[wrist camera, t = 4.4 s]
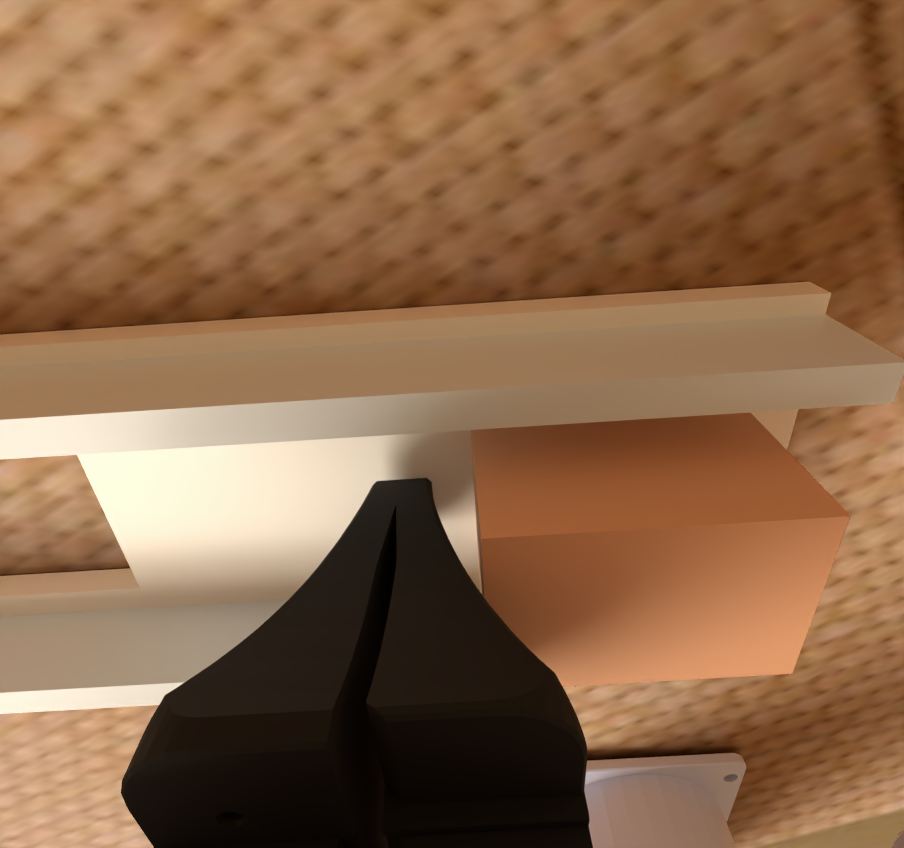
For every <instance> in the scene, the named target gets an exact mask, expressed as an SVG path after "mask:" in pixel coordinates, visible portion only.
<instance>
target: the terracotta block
mask: <svg viewBox="0 0 904 848" xmlns="http://www.w3.org/2000/svg"><path fill="white" fill-rule="evenodd" d="M471 440H472V457H473V475H474V493H475V511H476V529H477V547H478V560H479V573H480V585H481V594H482V595H483V597H484V598H485V599H486V601H487V602H488V603H489V605H490V606H491V607H492V608H493V609H494V611H495V612H496V613H497V614H498V615H499V617H500V618H501V619H502V620H503V621H504V623H505V624H506V625H507V626H508V627H509V629H510V630H511V631H512V632H513V633H514V634H515V635H516V636H517V637H518V638H519V639H520V640H521V641H522V642H523V643H524V644H525V645H526V647H527V648H529V649H530V650H531V651H532V652H533V653H534V654H535V655H536V656H537V657H538V658H539V659H540V660H541V661H542V662H543V663H544V664H546V665H547V666H548V667H549V668H550V669H551V670H552V671H553V672H555V674H556V676H557V677H558V679H559V681H560V683H561V685H562V687H565V686H583V685H601V684H618V683H636V682H654V681H671V680H689V679H707V678H725V677H742V676H760V675H778V674H792V673H793V670H794V667H795V665H796V662H797V659H798V657H799V654H800V651H801V648H802V646H803V643H804V640H805V638H806V635H807V632H808V630H809V627H810V624H811V622H812V619H813V616H814V613H815V611H816V608H817V605H818V603H819V600H820V597H821V595H822V592H823V589H824V587H825V584H826V581H827V579H828V576H829V573H830V570H831V568H832V565H833V562H834V560H835V557H836V554H837V552H838V549H839V546H840V544H841V541H842V538H843V536H844V533H845V530H846V527H847V525H848V522H849V519H850V517H851V516H850V515H849V514H848V513H847V512H846V511H845V510H844V509H843V508H842V507H841V506H840V505H839V504H838V503H837V502H836V500H835V499H834V498H833V497H832V496H831V495H830V494H829V493H828V492H827V491H826V490H825V489H824V488H823V487H822V486H821V485H820V484H819V483H818V482H817V481H816V480H815V479H814V478H813V477H812V476H811V475H810V474H809V473H808V471H807V470H806V469H805V468H804V467H803V466H802V465H801V464H800V463H799V462H798V461H797V460H796V459H795V458H794V457H793V456H792V455H791V454H790V453H789V452H788V451H787V450H786V449H785V448H784V447H783V446H782V445H781V444H780V443H779V441H778V440H777V439H776V438H775V437H774V436H773V435H772V434H771V433H770V432H769V431H768V430H767V429H766V428H765V427H764V426H763V425H762V424H761V423H760V422H759V421H758V420H757V419H756V418H755V417H754V416H753V415H752V414H751V412H750V413H734V414H718V415H702V416H686V417H670V418H654V419H638V420H622V421H606V422H590V423H574V424H558V425H542V426H526V427H510V428H494V429H478V430H471Z"/></svg>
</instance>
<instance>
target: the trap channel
mask: <svg viewBox="0 0 904 848" xmlns="http://www.w3.org/2000/svg"><path fill="white" fill-rule="evenodd" d="M830 297H831V292H829V291H827V290H825V289H823V288H821V287H819V286H817V285H815V284H813V283H811V282H795V283H779V284H764V285H749V286H734V287H718V288H703V289H688V290H673V291H657V292H642V293H627V294H612V295H596V296H581V297H566V298H551V299H536V300H520V301H505V302H490V303H475V304H459V305H444V306H429V307H414V308H398V309H383V310H368V311H353V312H337V313H322V314H307V315H292V316H276V317H261V318H246V319H231V320H216V321H200V322H185V323H170V324H155V325H139V326H124V327H109V328H94V329H78V330H63V331H48V332H33V333H17V334H2V335H0V459H16V458H32V457H48V456H63V455H77V456H78V458H79V460H80V462H81V464H82V467H83V469H84V471H85V473H86V475H87V477H88V479H89V481H90V484H91V486H92V488H93V490H94V492H95V494H96V496H97V498H98V500H99V503H100V505H101V507H102V509H103V511H104V513H105V515H106V517H107V519H108V522H109V524H110V526H111V528H112V530H113V532H114V534H115V536H116V538H117V541H118V543H119V545H120V547H121V549H122V551H123V553H124V555H125V558H126V560H127V562H128V564H129V566H130V568H127V569H110V570H93V571H76V572H60V573H43V574H26V575H10V576H0V714H7V713H25V712H43V711H60V710H78V709H96V708H113V707H131V706H149V705H160V703H161V701H162V699H163V697H164V696H165V695H166V694H167V693H169V692H171V691H172V690H174V689H175V688H177V687H178V686H180V685H181V684H183V683H184V682H186V681H187V680H189V679H190V678H192V677H193V676H195V675H196V674H198V673H199V672H201V671H202V670H204V669H205V668H207V667H208V666H210V665H211V664H213V663H214V662H215V661H217V660H218V659H219V658H221V657H222V656H224V655H225V654H226V653H227V652H229V651H230V650H231V649H233V648H234V647H235V646H237V645H238V644H239V643H240V642H242V641H243V640H244V639H245V638H247V637H248V636H249V635H250V634H252V633H253V632H254V631H255V630H256V629H258V628H259V627H260V626H261V625H262V624H263V623H264V622H265V621H266V620H268V619H269V618H270V617H271V616H272V615H273V614H274V613H275V612H276V611H277V610H278V609H279V608H280V607H281V606H282V605H283V604H284V603H285V602H286V601H287V600H289V598H290V597H291V596H292V595H293V594H294V593H295V592H296V591H297V590H298V589H299V588H300V587H301V586H302V585H303V584H304V582H305V581H306V580H307V579H308V578H309V577H310V576H311V574H312V573H313V572H314V571H315V570H316V569H317V567H318V566H319V565H320V564H321V562H322V561H323V560H324V558H325V557H326V556H327V555H328V553H329V552H330V551H331V549H332V548H333V547H334V545H335V544H336V543H337V541H338V540H339V539H340V537H341V536H342V534H343V533H344V531H345V530H346V528H347V527H348V525H349V524H350V522H351V521H352V519H353V518H354V516H355V515H356V513H357V512H358V510H359V508H360V507H361V505H362V503H363V502H364V500H365V498H366V496H367V495H368V493H369V491H370V489H371V487H372V485H373V484H374V483H375V482H376V481H385V480H401V479H416V478H427V479H429V480H430V481H431V482H432V490H433V499H434V503H435V506H436V509H437V512H438V515H439V518H440V520H441V523H442V525H443V527H444V530H445V532H446V534H447V536H448V539H449V541H450V543H451V545H452V547H453V549H454V550H455V552H456V554H457V556H458V558H459V560H460V561H461V563H462V565H463V567H464V568H465V570H466V572H467V573H468V575H469V576H470V578H471V579H472V581H473V582H474V584H475V585H476V587H477V588H478V590H479V591H480V592H481V585H480V573H479V560H478V547H477V529H476V511H475V493H474V475H473V457H472V440H471V430H478V429H494V428H510V427H526V426H542V425H558V424H574V423H590V422H606V421H622V420H638V419H654V418H670V417H686V416H702V415H718V414H734V413H750V412H751V414H752V415H753V416H754V417H755V418H756V419H757V420H758V421H759V422H760V423H761V424H762V425H763V426H764V427H765V428H766V429H767V430H768V431H769V432H770V433H771V434H772V435H773V436H774V437H775V438H776V439H777V440H778V441H779V443H780V444H781V445H782V446H783V447H784V448H785V449H786V450H787V449H788V445H789V442H790V438H791V434H792V431H793V427H794V424H795V420H796V417H797V413H798V410H799V409H814V408H830V407H846V406H862V405H878V404H893V402H894V400H895V397H896V394H897V392H898V389H899V386H900V384H901V381H902V378H903V376H904V359H902V358H901V357H899V356H897V355H895V354H894V353H892V352H890V351H888V350H887V349H885V348H883V347H882V346H880V345H878V344H876V343H875V342H873V341H871V340H869V339H868V338H866V337H864V336H862V335H861V334H859V333H857V332H855V331H854V330H852V329H850V328H848V327H847V326H845V325H843V324H842V323H840V322H838V321H836V320H835V319H833V318H831V317H829V316H828V315H826V311H827V307H828V304H829V300H830Z"/></svg>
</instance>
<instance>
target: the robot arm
mask: <svg viewBox="0 0 904 848" xmlns="http://www.w3.org/2000/svg"><path fill="white" fill-rule="evenodd" d="M587 757H588V756H587V746H586V741H585V737H584V734H583V731H582V729H581V726H580V723H579V720H578V718H577V716H576V713H575V711H574V709H573V707H572V704H571V702H570V700H569V698H568V696H567V694H566V692H565V691H564V689H563V687H562V685H561V683H560V681H559V679H558V677H557V676H556V674H555V672H553V671H552V670H551V669H550V668H549V667H548V666H547V665H546V664H544V663H543V662H542V661H541V660H540V659H539V658H538V657H537V656H536V655H535V654H534V653H533V652H532V651H531V650H530V649H529V648H527V647H526V645H525V644H524V643H523V642H522V641H521V640H520V639H519V638H518V637H517V636H516V635H515V634H514V633H513V632H512V631H511V630H510V629H509V627H508V626H507V625H506V624H505V623H504V621H503V620H502V619H501V618H500V617H499V615H498V614H497V613H496V612H495V611H494V609H493V608H492V607H491V606H490V605H489V603H488V602H487V601H486V599H485V598H484V597H483V595H482V594H481V592H480V591H479V590H478V588H477V587H476V585H475V584H474V582H473V581H472V579H471V578H470V576H469V575H468V573H467V572H466V570H465V568H464V567H463V565H462V563H461V561H460V560H459V558H458V556H457V554H456V552H455V550H454V549H453V547H452V545H451V543H450V541H449V539H448V536H447V534H446V532H445V530H444V527H443V525H442V523H441V520H440V518H439V515H438V512H437V509H436V506H435V503H434V499H433V490H432V482H431V481H430V480H429V479H427V478H416V479H401V480H385V481H376V482H375V483H374V484H373V485H372V487H371V489H370V491H369V493H368V495H367V496H366V498H365V500H364V502H363V503H362V505H361V507H360V508H359V510H358V512H357V513H356V515H355V516H354V518H353V519H352V521H351V522H350V524H349V525H348V527H347V528H346V530H345V531H344V533H343V534H342V536H341V537H340V539H339V540H338V541H337V543H336V544H335V545H334V547H333V548H332V549H331V551H330V552H329V553H328V555H327V556H326V557H325V558H324V560H323V561H322V562H321V564H320V565H319V566H318V567H317V569H316V570H315V571H314V572H313V573H312V574H311V576H310V577H309V578H308V579H307V580H306V581H305V582H304V584H303V585H302V586H301V587H300V588H299V589H298V590H297V591H296V592H295V593H294V594H293V595H292V596H291V597H290V598H289V600H287V601H286V602H285V603H284V604H283V605H282V606H281V607H280V608H279V609H278V610H277V611H276V612H275V613H274V614H273V615H272V616H271V617H270V618H269V619H268V620H266V621H265V622H264V623H263V624H262V625H261V626H260V627H259V628H258V629H256V630H255V631H254V632H253V633H252V634H250V635H249V636H248V637H247V638H245V639H244V640H243V641H242V642H240V643H239V644H238V645H237V646H235V647H234V648H233V649H231V650H230V651H229V652H227V653H226V654H225V655H224V656H222V657H221V658H219V659H218V660H217V661H215V662H214V663H213V664H211V665H210V666H208V667H207V668H205V669H204V670H202V671H201V672H199V673H198V674H196V675H195V676H193V677H192V678H190V679H189V680H187V681H186V682H184V683H183V684H181V685H180V686H178V687H177V688H175V689H174V690H172V691H171V692H169V693H167V694H166V695H165V696H164V697H163V699H162V701H161V703H160V705H159V706H158V708H157V710H156V712H155V713H154V715H153V717H152V718H151V720H150V722H149V724H148V726H147V728H146V730H145V732H144V734H143V736H142V738H141V740H140V743H139V745H138V747H137V749H136V751H135V754H134V756H133V758H132V760H131V762H130V764H129V767H128V769H127V771H126V773H125V775H124V778H123V780H122V788H121V794H122V796H123V799H124V801H125V803H126V806H127V808H128V810H129V811H130V813H131V814H132V816H133V817H134V819H135V820H136V821H137V823H138V824H139V826H140V827H141V829H142V830H143V832H144V833H145V835H146V836H147V838H148V839H149V841H150V842H151V844H152V845H153V846H154V848H736V846H735V843H734V841H733V838H732V836H731V833H730V830H729V828H728V825H727V821H728V818H729V815H730V812H731V810H732V807H733V804H734V801H735V799H736V796H737V793H738V790H739V788H740V785H741V782H742V779H743V776H744V774H745V771H746V764H745V762H744V760H743V757H742V756H741V755H739V754H736V753H717V754H699V755H680V756H662V757H644V758H625V759H607V760H589V761H587ZM892 848H904V830H903V831H902V832H900V833H899V834H898V836H897V837H896V839H895V842H894V844H893V847H892Z"/></svg>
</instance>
